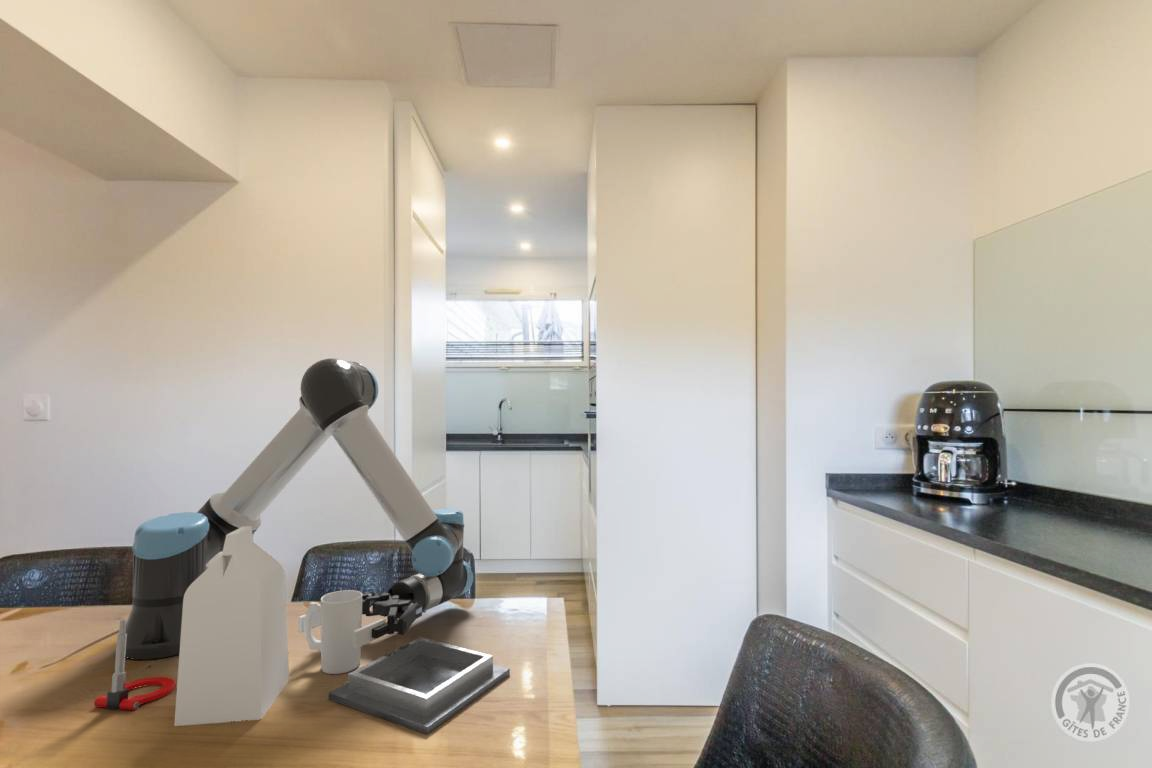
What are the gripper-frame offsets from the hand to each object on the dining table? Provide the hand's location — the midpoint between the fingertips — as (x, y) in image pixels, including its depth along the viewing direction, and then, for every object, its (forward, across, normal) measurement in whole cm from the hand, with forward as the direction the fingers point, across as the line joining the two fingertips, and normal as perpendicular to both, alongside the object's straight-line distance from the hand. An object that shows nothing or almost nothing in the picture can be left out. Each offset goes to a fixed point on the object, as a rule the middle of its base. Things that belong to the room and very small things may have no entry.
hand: (326, 632), depth 99 cm
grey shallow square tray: (-4, -19, -6) cm, 20 cm away
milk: (+13, +3, -7) cm, 15 cm away
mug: (-2, 0, -7) cm, 7 cm away
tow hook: (+19, +18, -7) cm, 28 cm away
